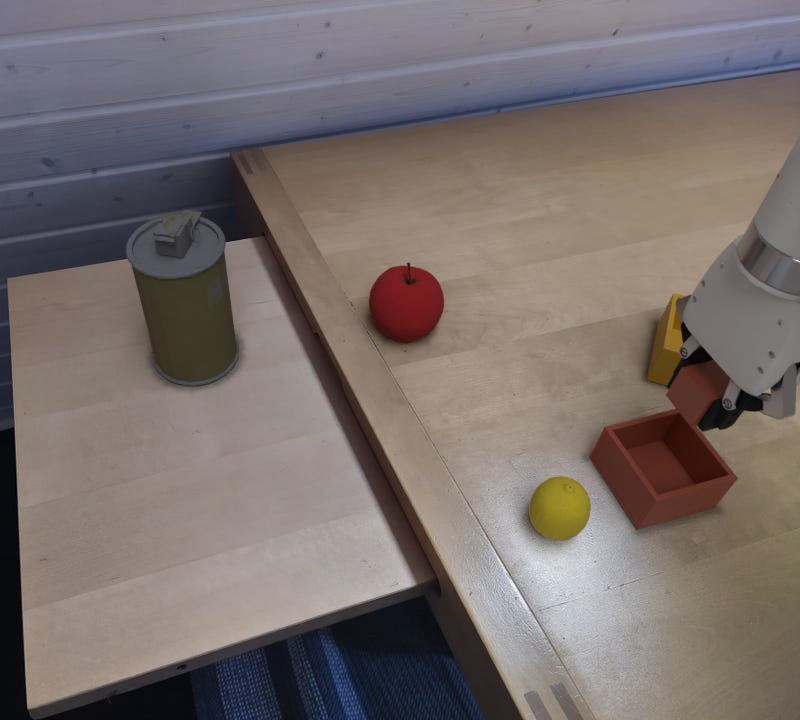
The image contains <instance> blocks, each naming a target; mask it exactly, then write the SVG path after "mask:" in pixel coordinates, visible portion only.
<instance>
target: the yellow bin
mask: <svg viewBox="0 0 800 720" xmlns="http://www.w3.org/2000/svg"><path fill="white" fill-rule="evenodd" d="M685 296H686V295H683V294H679V293H676V292H673V293H672V295H671V297H670V299H669V301H668V303H667V305H666V307H665V309H664V311H663V313H662V314H661V317H660V319H659V322H658V323H657V324H656V325H657V326H656V330H655V336H654V341H653V345H652V352H651V356H650V361H649V365H648V366H649V367H648V372H647V376H646V381H649V382H653V383H656V384H659V385H663V386H665V387H666V386H667V384H668V383H669V381H670V379H671V378H672V376H673V372H674V370H675V368H676V367H677V365H678V363H679V362H680V360H681V358H682V357H681V356H680V354H679V348H680V347H681V346H682V344H683V340H682V333H681V323H682V321H680V318H679V314H678V311H677V308H676V300H678V299H680V298H683V297H685Z"/></svg>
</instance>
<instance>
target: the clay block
mask: <svg viewBox="0 0 800 720" xmlns="http://www.w3.org/2000/svg"><path fill="white" fill-rule="evenodd" d="M730 379H731V378H730V377H729V376H728V375H727V374H726V373H725V372H724V370H723V369H722V368H721V367H720V366H719V365H718V364H717V363H716V361H715V360H711V361H707V362H703V363H699V364H695V365H691V366H687V367H682V368H681V370H680V371H679V373H678V375H677V377H676V378H675V380H674V382H673V383H672V385H671V387H670V388H669V390H668V389H667V392H666V394H665V396H666V398H667V399H668V400H669V401H670V403H671V404H672V405H673V407H674V409H677V410H678V412H679V413H680V414H681V415H682V417H683V418H684V419H685V420H686V422H687V423H688V424H689V426H690V427H691V428H693V427H697V428H698V424H699V422H700V421H701V419H702V418H703V417H704V415H705V414H706V412H707V411H708V409H709V408H710V406H711V405H712V403H713V402H714V401H715V400H717V399H720V398H723V396H724V394H725V391H726V389H727V386H728V384H729V381H730Z"/></svg>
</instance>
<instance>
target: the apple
mask: <svg viewBox="0 0 800 720" xmlns="http://www.w3.org/2000/svg"><path fill="white" fill-rule="evenodd" d="M374 281H375V282H374V283H373V285H372V287H371V289H370V292H369V297H368V308H369V312H370V316H371V318H372V321H373V322H374V324H375V326H376V327H377V329H378V330H379V331H380V332H381V333H382V334H384V335H385V336H387V337H388V338H390V339H393V340H396V341H398V342H401V343H411V342H415V341H419V340H421V339H423V338H426V337H427V336H428V335H429V334H431V333H432V332H433V331H434V330H435V329H436V327H437V325H438V324H439V322H440V320H441V318H442V315H443V313H444V308H445V296H444V291H443V289H442V286H441V284H440V282H439V280H438V279H437V278H436V276H434V275H433V273H431V272H429V271H428V270H426V269H423V268H422V267H417V266H411V262H406V265H396V266H391V267H389V268H388V269H386V270H384V272H382V273H381V274H380V275H378V277H377V278H376V280H374Z"/></svg>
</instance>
